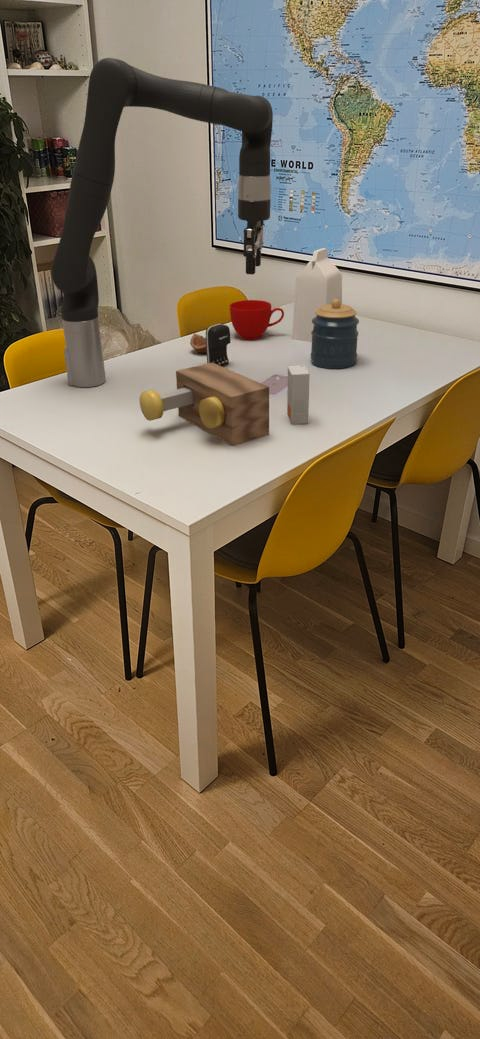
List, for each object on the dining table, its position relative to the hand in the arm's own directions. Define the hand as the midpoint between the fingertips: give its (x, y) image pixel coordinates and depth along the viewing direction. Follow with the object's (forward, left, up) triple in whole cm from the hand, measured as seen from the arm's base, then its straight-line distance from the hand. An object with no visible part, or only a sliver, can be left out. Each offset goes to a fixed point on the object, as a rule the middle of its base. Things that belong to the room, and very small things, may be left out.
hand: (253, 269), depth 172 cm
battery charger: (-11, +16, -29) cm, 35 cm away
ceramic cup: (-2, +46, -29) cm, 54 cm away
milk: (+17, +46, -29) cm, 57 cm away
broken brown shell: (-17, +29, -29) cm, 44 cm away
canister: (+21, +20, -29) cm, 41 cm away
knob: (-16, -28, -26) cm, 41 cm away
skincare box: (+11, -23, -29) cm, 39 cm away
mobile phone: (+5, 0, -30) cm, 30 cm away
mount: (-7, -28, -29) cm, 41 cm away
